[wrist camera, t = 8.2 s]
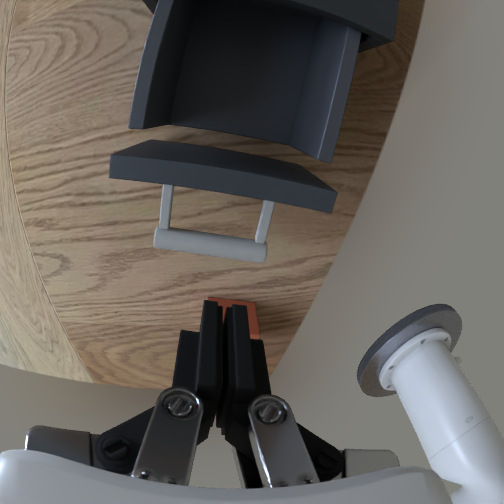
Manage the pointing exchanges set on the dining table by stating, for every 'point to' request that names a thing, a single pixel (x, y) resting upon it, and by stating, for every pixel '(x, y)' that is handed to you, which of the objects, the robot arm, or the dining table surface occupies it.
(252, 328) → the block
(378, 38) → the drawer cabinet
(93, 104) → the dining table surface
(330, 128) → the dark grey drawer
